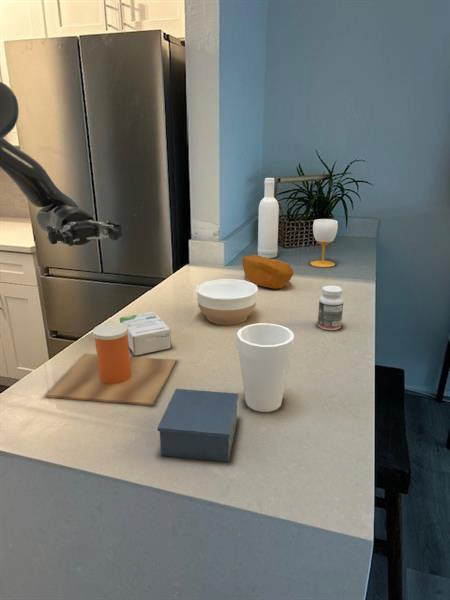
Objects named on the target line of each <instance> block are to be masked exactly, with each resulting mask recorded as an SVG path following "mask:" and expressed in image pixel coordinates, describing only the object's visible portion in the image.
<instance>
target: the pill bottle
mask: <svg viewBox="0 0 450 600" xmlns="http://www.w3.org/2000/svg"><path fill="white" fill-rule="evenodd" d="M321 294H322V295H321V296H320V297H319V301H318V313H317V326H318V327H319V328H320V329H322V330H326V331H338V330H339V329H340V328H342V324H343V323H342V320H343V311H344V298H343V297H342V294H343V288H342V287H341V286H337V285H329V284H328V285H324V286H322V289H321Z"/></svg>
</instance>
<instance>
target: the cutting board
mask: <svg viewBox="0 0 450 600" xmlns="http://www.w3.org/2000/svg"><path fill="white" fill-rule="evenodd" d="M176 363H177V359H166V358H150V357H137V356H130V364H131V377H130V378H129V379H128V380H126V381H124V382H121V383H117V384H107V383H104V382H102V381H101V380H100V376H99V368H98V360H97V354H91V353H90V354H89V353H84V355H83V356H82V357H81V358H80V359H79V360H78V361H77V362H76V363H75V364H74V365H73V367H71V368H70V369H69V370H68V371H67V372H66V373H65V374H64V375H63V376H62V377H61V379H59V381H58V382H57V383H55V385H54V386H53V387H52V388H51V389H50V390H49V391H48V392H47V393H46V394H45V397H46V398H53V399H66V400H76V401H77V400H78V401H87V402H88V401H91V402H103V403H115V404H125V405H126V404H127V405H138V406H149V407H150V406H151V407H153V406H154V404H155V402H156V401H157V399H158V398H159V395H160V393H161V392H162V389H163V388H164V386H165V384H166V382H167V380H168V378H169V377H170V374H171V372H172V370H173V369H174V366H175V365H176Z"/></svg>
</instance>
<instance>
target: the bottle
mask: <svg viewBox="0 0 450 600" xmlns="http://www.w3.org/2000/svg"><path fill="white" fill-rule="evenodd" d="M263 183H264V195H263V196H264V197H263V198H262V199H261V200H260V202H259V205H258V219H257V220H258V221H257V222H258V225H257V255H259V256H262V257H266V258H271V259H274V258H276V257H278V243H279V242H278V239H279V217H280V216H279V214H280V206H279V202H278V200H277V199H276V197H275V178H274V177H265V178H264V182H263Z"/></svg>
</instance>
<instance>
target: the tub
mask: <svg viewBox="0 0 450 600" xmlns="http://www.w3.org/2000/svg"><path fill="white" fill-rule="evenodd" d="M92 336H93V337H94V343H95V351H96V352H95V353H96V355H97V360H98V368H99V376H100V380H101V381H102V382H104V383H107V384H117V383H121V382H124V381H126V380H128V379H129V378H130V377H131V364H130V357H131V353H130V347H129V343H128V326H127V325H126V324H124V323H120V321H113V322H105V323H101V324H99V325H96V326H95V327H94V328H93V329H92Z"/></svg>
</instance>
